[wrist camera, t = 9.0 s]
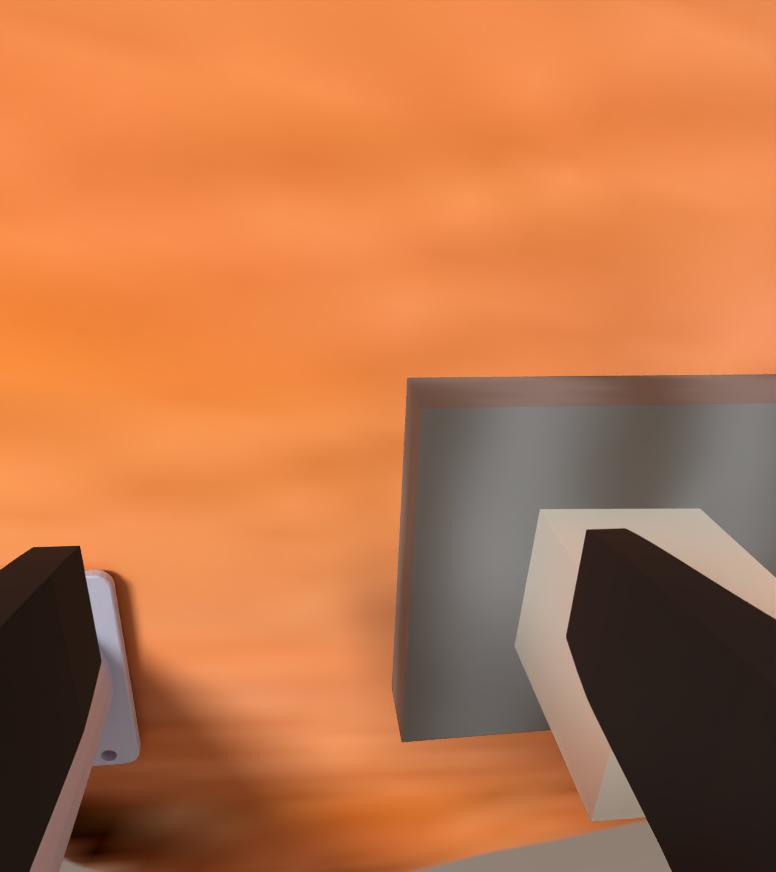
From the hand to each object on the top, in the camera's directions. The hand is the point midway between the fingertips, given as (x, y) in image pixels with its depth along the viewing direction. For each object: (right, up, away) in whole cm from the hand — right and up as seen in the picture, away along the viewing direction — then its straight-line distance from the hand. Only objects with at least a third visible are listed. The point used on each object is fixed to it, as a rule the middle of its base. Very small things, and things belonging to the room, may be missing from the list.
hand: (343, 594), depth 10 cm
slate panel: (+7, -1, +14) cm, 15 cm away
